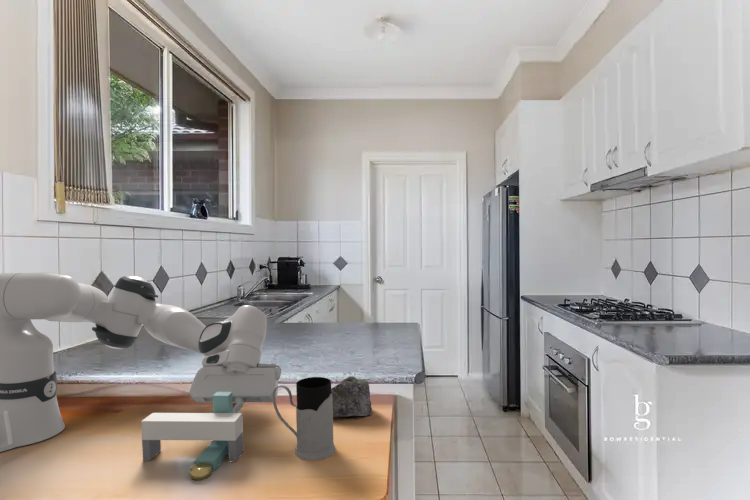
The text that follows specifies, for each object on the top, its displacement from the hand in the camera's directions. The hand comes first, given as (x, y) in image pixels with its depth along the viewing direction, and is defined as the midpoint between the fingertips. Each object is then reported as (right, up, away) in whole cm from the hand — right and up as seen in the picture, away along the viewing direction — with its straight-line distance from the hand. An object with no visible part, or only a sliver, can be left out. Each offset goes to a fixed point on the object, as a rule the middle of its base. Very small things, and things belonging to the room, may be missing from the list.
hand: (227, 419), depth 107 cm
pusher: (0, -6, -6) cm, 8 cm away
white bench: (-5, -6, -6) cm, 10 cm away
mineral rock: (+26, -5, +16) cm, 31 cm away
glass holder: (+18, -6, -3) cm, 19 cm away
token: (-1, -6, -14) cm, 15 cm away
